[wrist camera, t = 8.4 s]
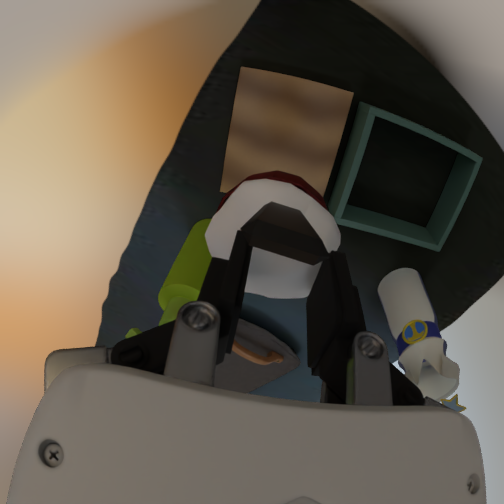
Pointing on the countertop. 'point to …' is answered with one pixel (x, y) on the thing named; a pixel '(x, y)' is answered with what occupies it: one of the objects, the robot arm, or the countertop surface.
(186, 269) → the soap dispenser
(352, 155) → the crate
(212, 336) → the robot arm
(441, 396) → the water bottle
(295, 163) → the cutting board
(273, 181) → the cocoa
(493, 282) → the countertop surface
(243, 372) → the serving tray
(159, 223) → the countertop surface
